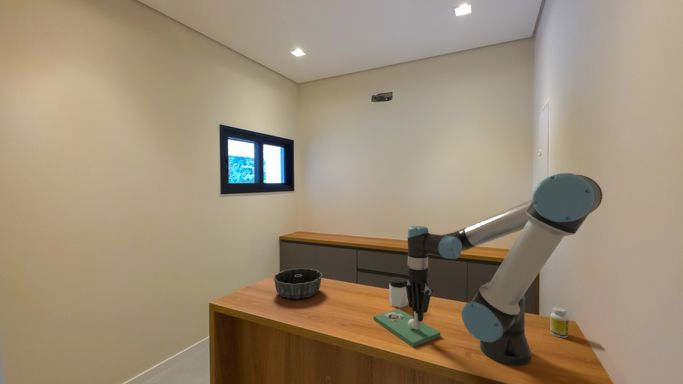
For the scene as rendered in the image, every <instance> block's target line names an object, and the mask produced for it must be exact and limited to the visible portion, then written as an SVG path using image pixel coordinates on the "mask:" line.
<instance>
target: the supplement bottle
mask: <svg viewBox="0 0 683 384" xmlns="http://www.w3.org/2000/svg"><path fill="white" fill-rule="evenodd" d="M566 314H567V310H566V309H565V308H563V307H559V306H554V307H552V312H551V313H550V321H549V322H550V334H551V335H553V336H555V337H557V338H563V339H564V338H565V339H566V338H567V337H569V317H568V316H567V315H566Z"/></svg>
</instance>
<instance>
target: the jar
mask: <svg viewBox="0 0 683 384" xmlns="http://www.w3.org/2000/svg"><path fill="white" fill-rule="evenodd" d="M404 281H408V280H407V279H406V278H404V277H400V276H395V277H390V278H389V286H388V287H389V289H388V290H389V291H388V293H389V294H388V295H389V297H388V298H389V300H388V301H389V304H390V305H391V307H395V308H398V309H400V308H404V307H408V306H409V304H408V298H407V291H406V286H405V284H404Z"/></svg>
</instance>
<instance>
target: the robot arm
mask: <svg viewBox="0 0 683 384" xmlns="http://www.w3.org/2000/svg"><path fill="white" fill-rule="evenodd" d="M531 198H532V199H530V200H527V201H525V202H522V203H520V204H518V205H515V206H513V207H511V208H508V209H506V210H504V211H501V212H499V213H496V214H495V215H492V216H489V217H487V218H485V219H483V220H480V221H478V222H476V223H473V224H471V225H469V226H466V227H463V228H462V229H459V230H457V231H454V232H449V233H444V234H437V233H436V234H435V233H434V234H433V233H430V231H429V228H428V227H427V226H422V225H421V226H420V225H413V226H410V227H408V229H407V266H408V267H407V277H408V280H407V281H404V284H405V286H406V291H407V298H408V307H409V308H411V310H412V317H413V318H414V329H416V330H418V329H421V328H422V322H423V321H424V314H425V313H428V311H429V307H430V306H429V305H430V300H431V297H432V294H433V292H434V290H433V289H432V288H431V289H430V287H429V286H428V285H429V284H428V282H427V281H428V278H429V268H428V267H429V255H432V256H436V257H441V258H445V259H450V260H451V259H452V260H457V259H458V258H460V257H459V256H461V254H462V252H465V251H467V250H470V249H472V248H475V247H478V246H481V245H483V244H486V243H488V242H492V241H494V240H497V239H500V238H503V237H506V236H508V235H511V234H513V233H514V234H515V233H517V232H519V231H521V232H520V233H519V234H518V237H516V240H515V241H514V243H513V244H512V246H511V248H510V249H509V251H508V253H507V254H506V256H505V257H504V259H503V261H502V262H501V264H500V265H499V267H498V268H497V270H496V272H495V273H494V275H493V277H492V278H491V280H490V281H489V282H486V283H485V284H482V285H480V287H479V289H478V290H477V291H476V293H475V295H474V297H473V298H472V300H471V301H468V302H466V304H465V305H464V307H462V310H461V320H462V321H463V324H464V325H463V326H464V327H465V329H466V330H467V331H468V333H469V334H471V335H472V336H473V337H474V338H476V339H477V340H479V348H480V349H481V350H480V351H481V352H483V353H484V355H486V356H487V357H489V358H490V359H492V360H494V361H496V362H499V363H501V364H506V365H512V366H525V365H527V364H529V363H530V362H531V360H532V351H531V348H530V345H529V342H528V339H527V337H526V334H525V333H526V332H525V326H526V325H525V323H526V322H525V315H526V313H525V312H526V311H525V306H526V305H525V303H526V302H525V301H526V297H525V293H527V291H528V289H529V288H530V287H531V285H532V283H533V282H534V281H535V280H536V279H537V278H536V277H538V275H539V273H540V272H541V271H542V269H543V268H544V266H545V265H546V263H547V262H548V261H549V259H550V258H551V256H552V254H553V253H554V252H555V250H556V249H557V247H558V246H559V244H560V243H561V242H562V240H563V239H564V237H566V236H573V235H575V234H576V233H577V232H578V230H579V229H580V227H581V226H582V225H583V223H584V222H585V220H586V219H587V218H588V217H589V215H590V214H591V213H593V212H595V211H596V210H597V209H598V208H599V207H600V205H601V203H602V201H603V191H602V188H601V187H600V185H599V183H597V182H596V181H595V180H594V179H592V178H591V177H588V176H586V175H582V174H575V173H568V172H565V173H564V172H561V173H558V174H552V175H551V176H548V177H546V178H544V179H543V180H541V181H540V182H539V183H538V184H537V185H536V186H535V188H534V190H533V193H532V197H531Z"/></svg>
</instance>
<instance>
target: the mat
mask: <svg viewBox="0 0 683 384" xmlns="http://www.w3.org/2000/svg"><path fill="white" fill-rule="evenodd" d="M410 319H414V318H413V315H410V314H409V313H407V312H405V311H403V310H401V309H400V308H395V309H393V310H389V311H386V312H383V313H379V314H376V315H373V321H374V322H376V323H377V324H379V325H381V326H382V327H384V329H386V330H387V331H389V332H391V333H392V334H393V335H395V336H397V337H398V338H399V339H400V340H402V341H404V342H405V343H406V344H408V345H409V346H410V347H412V348H414V347H417V346H420V345H422V344H425V343H428V342H430V341H432V340H435V339H437V338H441V331H439V330H437V329H435V328H434V327H432V326H430V325H428V324H426V323H425V322H423V321H422V328H421V329H418V330H416V329H411V328H410V327H409V326H408V321H409V320H410Z"/></svg>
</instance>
